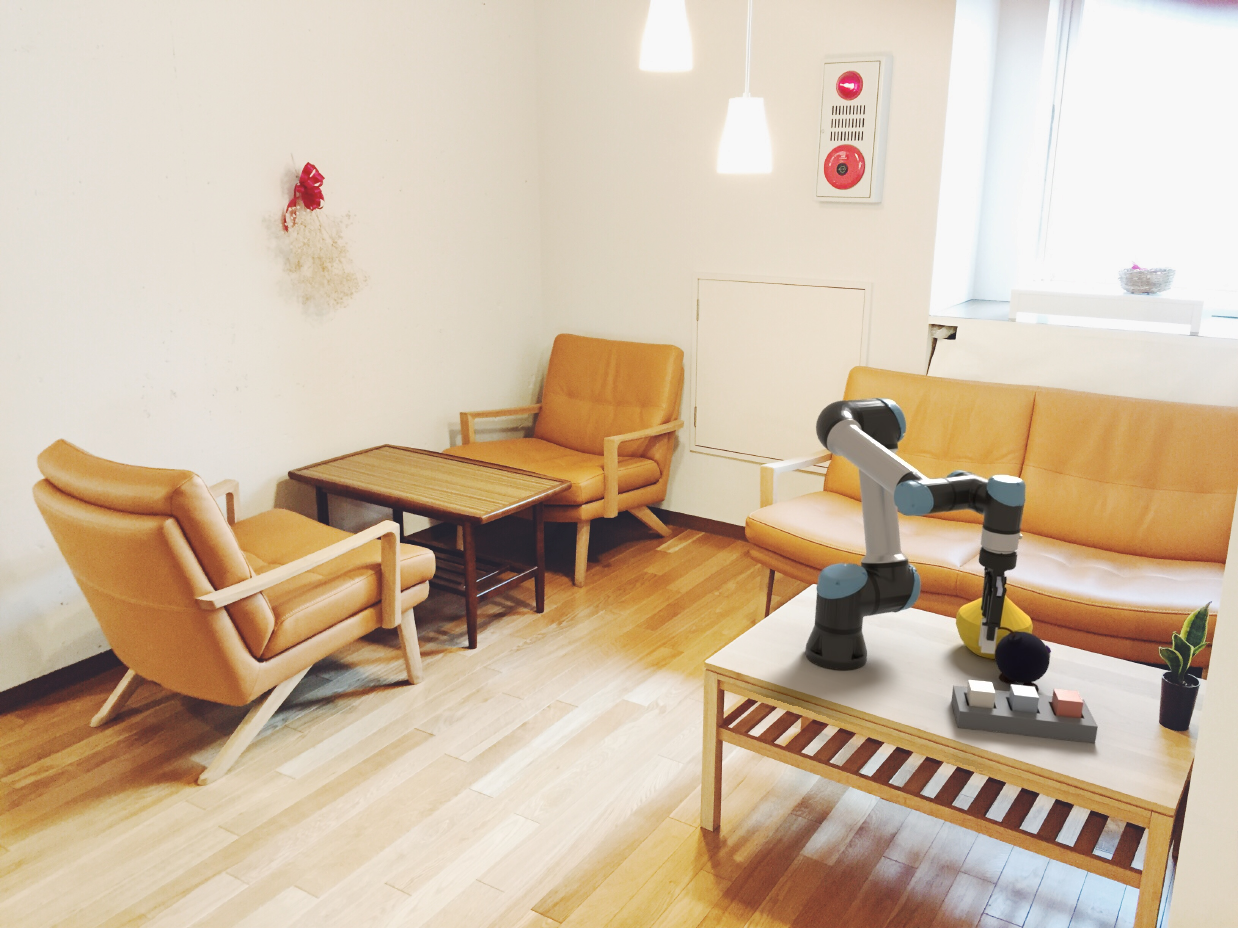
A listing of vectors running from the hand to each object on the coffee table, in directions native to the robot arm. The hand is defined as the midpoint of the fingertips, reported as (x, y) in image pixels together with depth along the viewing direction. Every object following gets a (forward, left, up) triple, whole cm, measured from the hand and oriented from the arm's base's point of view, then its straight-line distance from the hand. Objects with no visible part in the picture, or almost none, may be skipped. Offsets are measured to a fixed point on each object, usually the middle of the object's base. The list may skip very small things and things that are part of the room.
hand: (986, 648), depth 215 cm
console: (+9, 0, -17) cm, 19 cm away
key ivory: (0, 0, -13) cm, 13 cm away
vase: (+8, +36, -17) cm, 40 cm away
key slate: (+9, 0, -13) cm, 16 cm away
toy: (+11, +18, -17) cm, 27 cm away
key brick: (+18, 0, -13) cm, 22 cm away
